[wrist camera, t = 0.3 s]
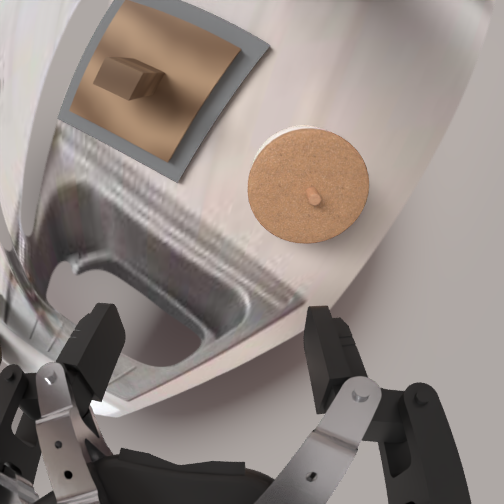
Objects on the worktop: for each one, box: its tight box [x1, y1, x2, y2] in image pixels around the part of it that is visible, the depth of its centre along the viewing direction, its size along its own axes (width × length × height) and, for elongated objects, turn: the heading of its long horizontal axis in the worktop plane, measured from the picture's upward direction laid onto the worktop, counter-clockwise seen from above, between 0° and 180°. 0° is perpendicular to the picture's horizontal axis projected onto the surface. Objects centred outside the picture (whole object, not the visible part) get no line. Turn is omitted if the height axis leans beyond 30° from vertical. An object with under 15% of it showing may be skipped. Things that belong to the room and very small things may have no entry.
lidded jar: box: [248, 125, 369, 243], centre depth 25 cm, size 11×11×9 cm
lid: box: [69, 0, 241, 163], centre depth 20 cm, size 14×14×7 cm
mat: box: [58, 0, 270, 183], centre depth 23 cm, size 18×18×1 cm
